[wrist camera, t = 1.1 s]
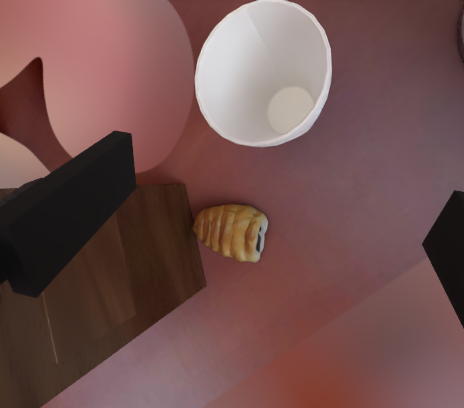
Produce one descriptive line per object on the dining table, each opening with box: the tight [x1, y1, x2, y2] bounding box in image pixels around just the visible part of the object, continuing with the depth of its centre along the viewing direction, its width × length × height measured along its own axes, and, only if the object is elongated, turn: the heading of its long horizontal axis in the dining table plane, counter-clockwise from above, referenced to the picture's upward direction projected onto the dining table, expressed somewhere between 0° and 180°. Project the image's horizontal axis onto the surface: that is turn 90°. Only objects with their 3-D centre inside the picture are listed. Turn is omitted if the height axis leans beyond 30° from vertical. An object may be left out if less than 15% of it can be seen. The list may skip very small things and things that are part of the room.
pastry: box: [193, 204, 268, 263], centre depth 37 cm, size 9×7×4 cm
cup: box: [195, 0, 332, 147], centre depth 29 cm, size 10×10×14 cm
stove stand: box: [0, 184, 206, 408], centre depth 30 cm, size 14×14×28 cm
